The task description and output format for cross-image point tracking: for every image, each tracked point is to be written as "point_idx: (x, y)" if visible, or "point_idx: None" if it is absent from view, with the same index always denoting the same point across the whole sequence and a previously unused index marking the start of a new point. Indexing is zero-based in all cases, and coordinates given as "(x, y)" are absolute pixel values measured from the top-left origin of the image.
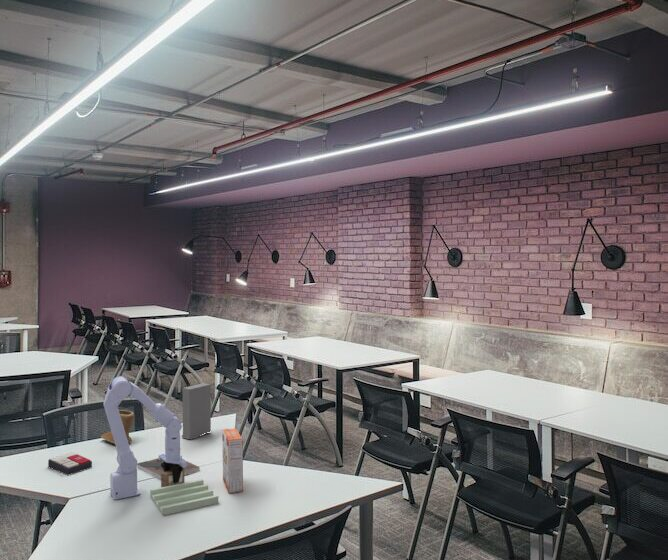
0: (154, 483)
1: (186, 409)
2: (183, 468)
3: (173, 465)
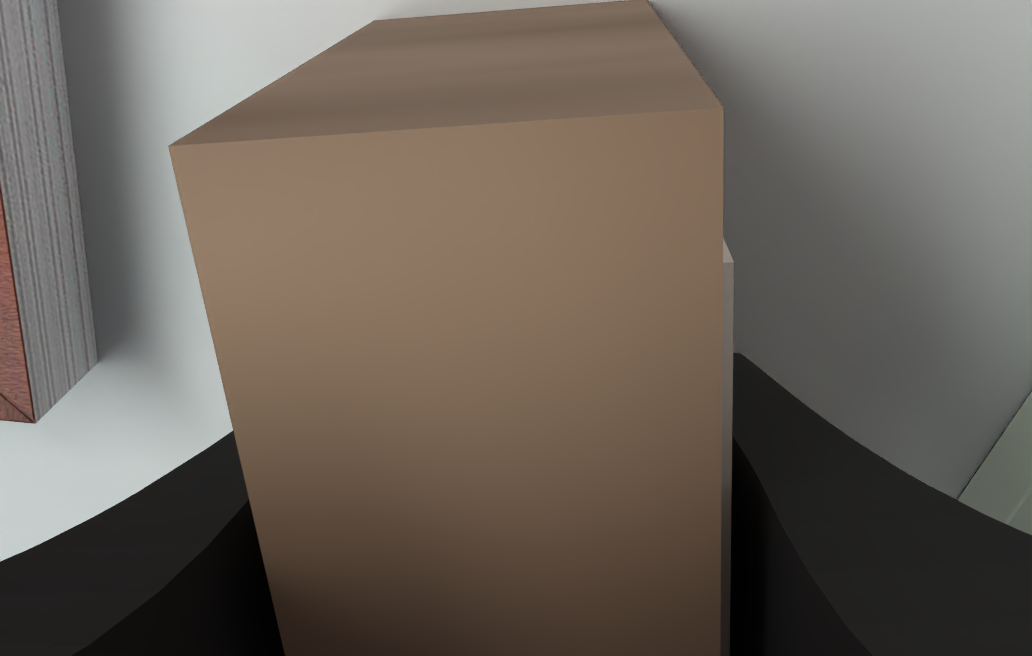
0: None
1: None
2: (721, 185)
3: (131, 649)
